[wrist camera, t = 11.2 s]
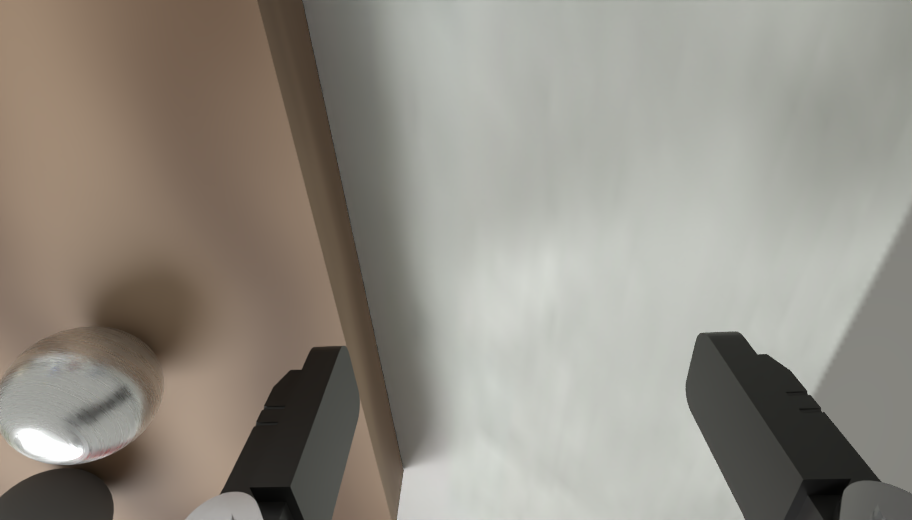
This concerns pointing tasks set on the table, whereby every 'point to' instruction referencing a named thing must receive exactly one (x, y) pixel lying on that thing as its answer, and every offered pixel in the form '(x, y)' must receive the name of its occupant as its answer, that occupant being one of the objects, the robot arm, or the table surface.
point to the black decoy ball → (58, 497)
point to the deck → (183, 230)
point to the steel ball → (79, 395)
